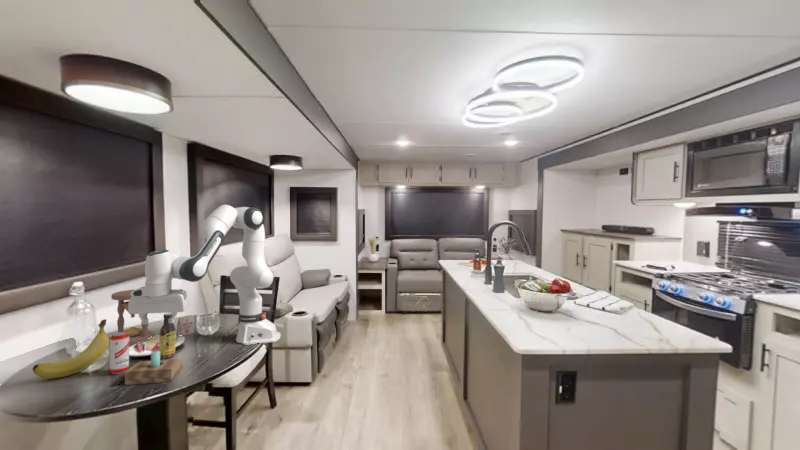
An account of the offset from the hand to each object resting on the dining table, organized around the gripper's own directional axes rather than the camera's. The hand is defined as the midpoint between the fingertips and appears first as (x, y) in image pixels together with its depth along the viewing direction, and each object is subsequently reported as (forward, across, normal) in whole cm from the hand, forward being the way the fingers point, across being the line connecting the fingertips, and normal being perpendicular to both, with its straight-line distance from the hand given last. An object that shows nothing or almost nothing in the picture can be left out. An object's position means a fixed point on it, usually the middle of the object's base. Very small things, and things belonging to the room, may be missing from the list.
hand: (158, 323), depth 137 cm
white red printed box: (+22, +10, -52) cm, 57 cm away
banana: (+21, +34, -7) cm, 41 cm away
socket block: (+21, 0, +3) cm, 21 cm away
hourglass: (+22, +33, -47) cm, 61 cm away
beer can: (+21, +17, -6) cm, 28 cm away
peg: (+21, 0, +3) cm, 21 cm away
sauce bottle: (+22, +5, -19) cm, 29 cm away
